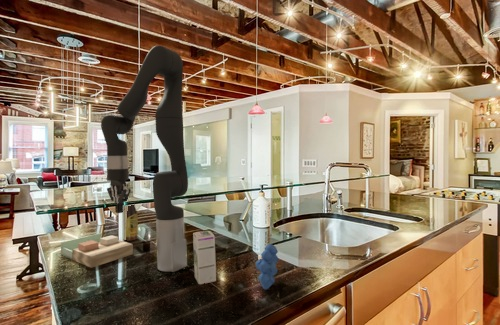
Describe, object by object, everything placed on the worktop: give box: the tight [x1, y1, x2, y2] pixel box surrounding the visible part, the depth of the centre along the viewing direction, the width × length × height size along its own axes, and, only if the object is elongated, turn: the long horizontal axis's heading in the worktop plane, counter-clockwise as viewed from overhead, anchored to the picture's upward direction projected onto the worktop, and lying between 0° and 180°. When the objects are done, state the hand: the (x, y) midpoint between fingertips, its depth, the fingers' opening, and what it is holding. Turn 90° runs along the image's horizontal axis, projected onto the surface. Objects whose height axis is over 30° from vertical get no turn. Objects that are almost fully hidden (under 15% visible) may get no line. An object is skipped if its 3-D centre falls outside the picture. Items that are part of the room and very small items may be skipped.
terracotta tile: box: [78, 240, 99, 251], centre depth 108 cm, size 5×5×2 cm
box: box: [60, 232, 103, 261], centre depth 116 cm, size 10×16×5 cm, turn 145°
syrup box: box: [192, 230, 217, 285], centre depth 88 cm, size 6×6×14 cm
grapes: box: [254, 243, 280, 290], centre depth 83 cm, size 12×7×12 cm, turn 157°
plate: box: [72, 239, 134, 269], centre depth 109 cm, size 14×16×4 cm
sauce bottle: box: [126, 204, 139, 242], centre depth 131 cm, size 7×6×20 cm
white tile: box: [100, 235, 120, 245], centre depth 114 cm, size 5×5×2 cm
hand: (119, 212), depth 109 cm, fingers closed
